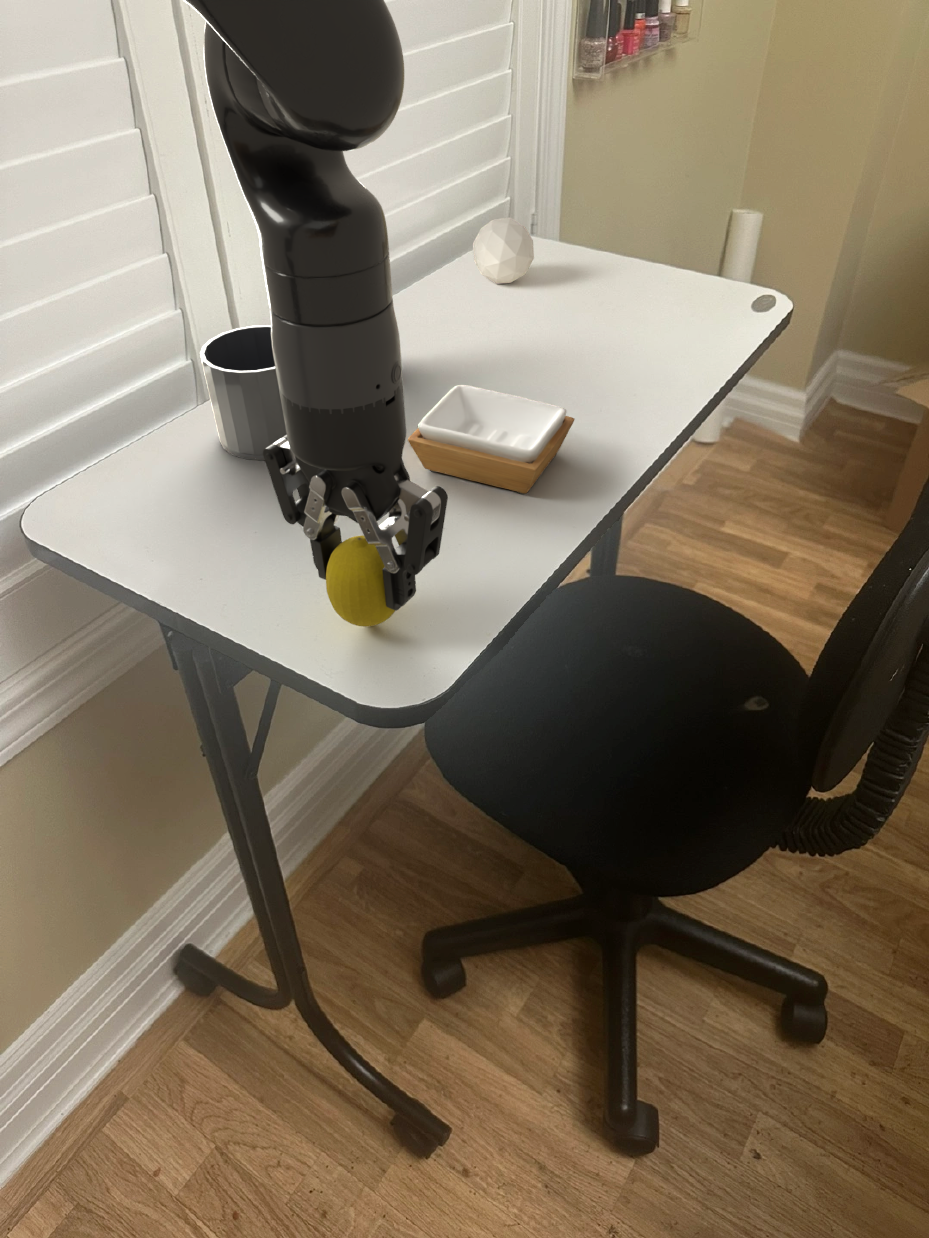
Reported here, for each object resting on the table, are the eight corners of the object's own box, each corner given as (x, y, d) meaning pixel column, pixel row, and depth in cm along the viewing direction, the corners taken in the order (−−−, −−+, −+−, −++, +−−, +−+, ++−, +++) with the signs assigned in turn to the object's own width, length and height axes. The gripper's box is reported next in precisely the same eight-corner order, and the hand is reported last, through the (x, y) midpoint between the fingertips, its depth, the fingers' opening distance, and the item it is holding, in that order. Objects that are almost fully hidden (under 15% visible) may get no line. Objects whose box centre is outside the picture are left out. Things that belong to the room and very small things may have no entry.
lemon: (320, 639, 67) (305, 553, 62) (352, 593, 71) (340, 509, 66) (388, 655, 66) (379, 569, 60) (417, 608, 69) (411, 523, 64)
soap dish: (409, 474, 83) (405, 426, 80) (454, 425, 90) (453, 378, 87) (534, 505, 79) (537, 455, 76) (573, 451, 86) (576, 403, 83)
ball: (517, 298, 120) (556, 251, 115) (483, 295, 113) (523, 245, 109) (485, 256, 121) (522, 207, 116) (449, 251, 115) (487, 199, 110)
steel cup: (273, 471, 84) (257, 382, 78) (198, 442, 88) (177, 356, 82) (340, 425, 90) (329, 339, 84) (267, 400, 94) (252, 317, 88)
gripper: (209, 370, 55) (257, 583, 67) (399, 433, 49) (416, 655, 61) (291, 325, 60) (322, 531, 71) (473, 378, 54) (476, 594, 65)
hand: (365, 587), depth 66 cm, fingers closed on lemon, 5 cm apart
